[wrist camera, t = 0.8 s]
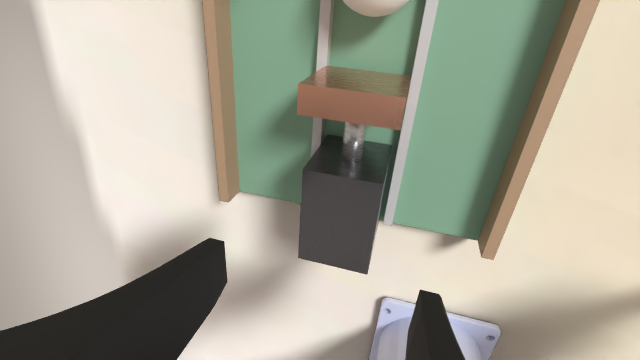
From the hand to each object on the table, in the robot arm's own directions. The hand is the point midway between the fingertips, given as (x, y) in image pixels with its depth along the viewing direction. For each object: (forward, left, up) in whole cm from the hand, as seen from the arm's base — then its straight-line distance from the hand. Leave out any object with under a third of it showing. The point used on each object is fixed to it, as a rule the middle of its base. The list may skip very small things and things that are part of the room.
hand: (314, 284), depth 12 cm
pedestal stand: (+2, 0, -8) cm, 9 cm away
